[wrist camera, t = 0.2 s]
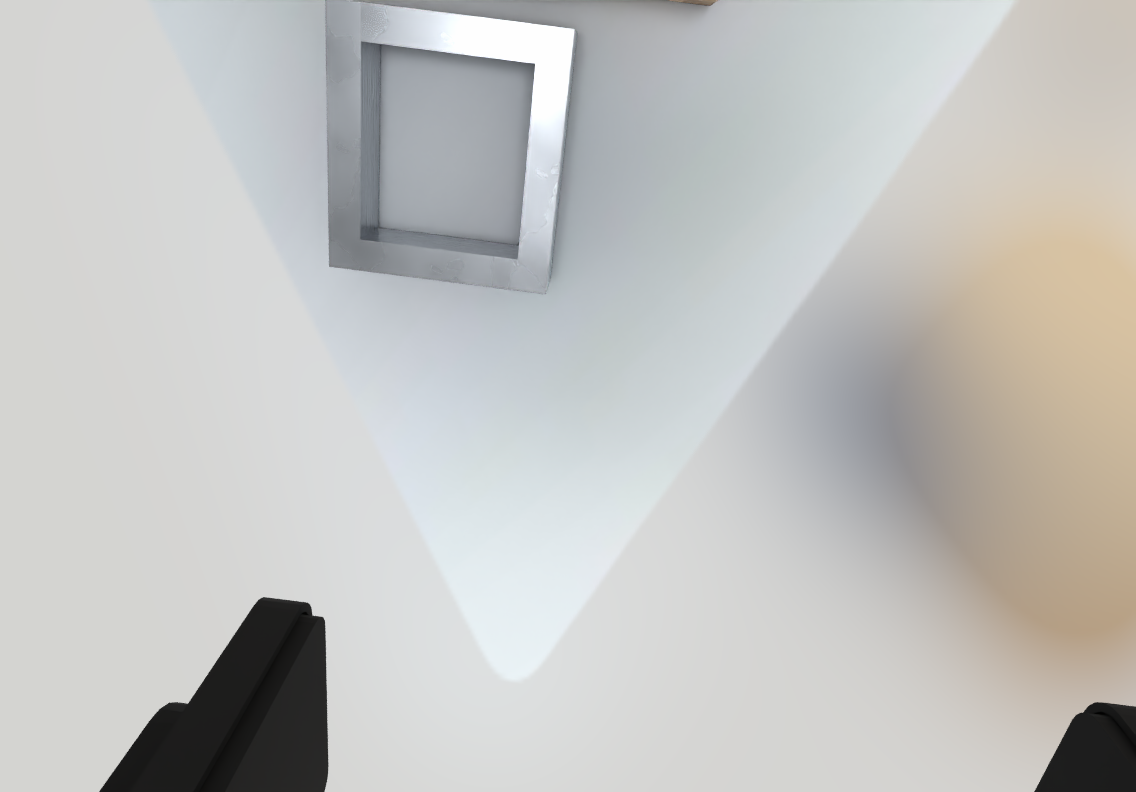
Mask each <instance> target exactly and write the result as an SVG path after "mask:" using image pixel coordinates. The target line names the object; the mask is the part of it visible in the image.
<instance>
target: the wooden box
mask: <svg viewBox="0 0 1136 792" xmlns="http://www.w3.org/2000/svg"><path fill="white" fill-rule="evenodd" d="M669 1H677V2H684V3H692V4H700V5H708V6H710V5H712V4H713V3H715V2H716V1H718V0H669Z"/></svg>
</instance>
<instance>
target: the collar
mask: <svg viewBox="0 0 1136 792" xmlns="http://www.w3.org/2000/svg"><path fill="white" fill-rule="evenodd" d="M325 6H326V75H327V145H328V214H329V267H337V268H345V269H352V270H360V271H368V272H376V273H384V274H392V275H400V276H407V277H415V278H423V279H431V280H439V281H447V282H454V283H462V284H470V285H478V286H486V287H494V288H501V289H509V290H517V291H525V292H533V293H541V294H546V292H547V289H548V285H549V282H550V278H551V269H552V259H553V250H554V241H555V232H556V223H557V214H558V205H559V195H560V186H561V177H562V168H563V159H564V150H565V141H566V132H567V122H568V113H569V104H570V95H571V86H572V77H573V68H574V58H575V49H576V40H577V32H576V30H575V29H570V28H562V27H554V26H546V25H538V24H531V23H523V22H515V21H507V20H499V19H491V18H484V17H476V16H468V15H460V14H452V13H445V12H437V11H429V10H421V9H413V8H405V7H398V6H390V5H382V4H374V3H366V2H358V1H351V0H325ZM381 44H384V45H392V46H400V47H408V48H416V49H424V50H431V51H439V52H447V53H455V54H463V55H471V56H478V57H486V58H494V59H502V60H510V61H518V62H525V63H533V64H535V74H534V85H533V96H532V107H531V118H530V129H529V140H528V151H527V163H526V174H525V185H524V196H523V207H522V218H521V229H520V240H519V245H512V244H504V243H496V242H489V241H481V240H473V239H465V238H457V237H449V236H442V235H434V234H426V233H418V232H410V231H402V230H395V229H387V228H379V227H378V221H379V143H380V64H381Z"/></svg>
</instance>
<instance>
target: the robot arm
mask: <svg viewBox="0 0 1136 792" xmlns="http://www.w3.org/2000/svg"><path fill="white" fill-rule="evenodd" d="M326 686H327V685H326V640H325V620H324V618H323V617H318V616H312V609H311V606H310V604H308V603H306V602H298V601H290V600H282V599H274V598H265V597H263V598H261V599H259V600H258V601H257V603H256V604H255V605H254V606H253V608H252V609H251V611H250V612H249V614H248V615H247V617H246V618H245V620H244V621H243V623H242V624H241V626H240V627H239V629H238V630H237V632H236V633H235V635H234V636H233V638H232V639H231V641H230V642H229V644H228V645H227V647H226V648H225V650H224V651H223V653H222V654H221V655H220V657H219V658H218V660H217V661H216V663H215V665H214V666H213V668H212V669H211V670H210V672H209V673H208V675H207V676H206V678H205V679H204V681H203V682H202V684H201V685H200V687H199V688H198V690H197V691H196V693H195V694H194V696H193V697H192V699H191V701H190V702H189V703H188V704H185V703H178V702H175V703H168V704H167V705H165V706H164V707H162V708H161V709H159V711H158V712H157V713H156V714H155V715H154V716H153V718H152V719H151V720H150V721H149V723H148V724H147V725H146V727H145V728H144V730H143V731H142V732H141V734H140V735H139V737H138V738H137V739H136V741H135V742H134V744H133V745H132V746H131V748H130V749H129V751H128V752H127V754H126V755H125V756H124V758H123V759H122V760H121V762H120V763H119V765H118V766H117V767H116V769H115V770H114V772H113V773H112V775H111V776H110V777H109V779H108V780H107V782H106V783H105V784H104V786H103V787H102V788H101V790H100V792H324V791H325V787H326V782H327V777H328V733H327V732H328V731H327V687H326ZM1035 792H1136V707H1134V706H1126V705H1118V704H1110V703H1098V702H1097V703H1093V704H1091V705H1089V706H1088V707H1087V709H1086V710H1085V711H1084V712H1083V713H1079V714H1077V715H1076V716H1075V717H1074V719H1073V720H1072V722H1071V723H1070V725H1069V727H1068V729H1067V731H1066V733H1065V735H1064V737H1063V738H1062V741H1061V742H1060V744H1059V746H1058V748H1057V750H1056V752H1055V754H1054V756H1053V758H1052V759H1051V761H1050V763H1049V765H1048V767H1047V769H1046V771H1045V773H1044V775H1043V776H1042V778H1041V780H1040V782H1039V784H1038V786H1037V788H1036V790H1035Z"/></svg>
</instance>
